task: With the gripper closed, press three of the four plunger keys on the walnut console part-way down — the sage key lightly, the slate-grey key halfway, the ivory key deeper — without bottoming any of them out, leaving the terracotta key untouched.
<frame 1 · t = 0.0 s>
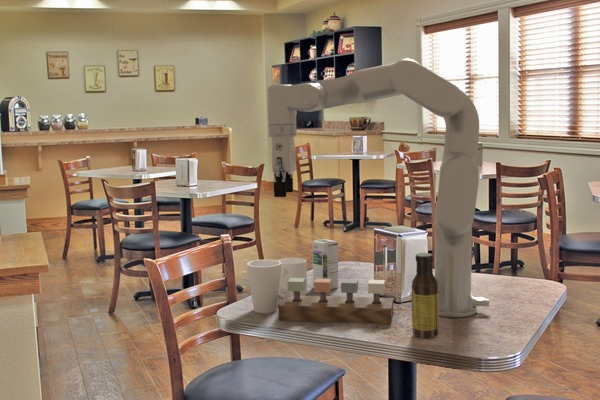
hand: (283, 194, 202), 31 cm above the table, tool pointing down, fingers open, 9 cm apart
ivory key: (376, 294, 193), point 6 cm above the table, slide at 0.0 cm
terracotta key: (323, 292, 196), point 6 cm above the table, slide at 0.0 cm
foam cup: (265, 310, 203), on the table
sauce bottle: (425, 336, 179), on the table
syrup box: (325, 288, 226), on the table
mug: (289, 297, 216), on the table
slate-grey key: (349, 293, 195), point 6 cm above the table, slide at 0.0 cm
sage key: (296, 292, 197), point 6 cm above the table, slide at 0.0 cm
console: (336, 316, 196), on the table
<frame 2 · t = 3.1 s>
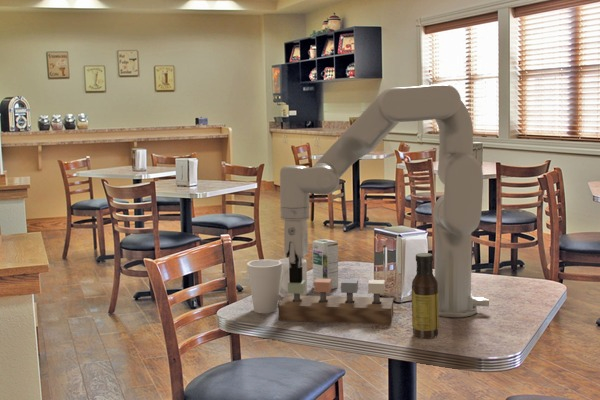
hand: (295, 281, 197), 9 cm above the table, tool pointing down, fingers closed
sage key: (296, 294, 197), point 6 cm above the table, slide at 0.6 cm, touching gripper
everything else where it was.
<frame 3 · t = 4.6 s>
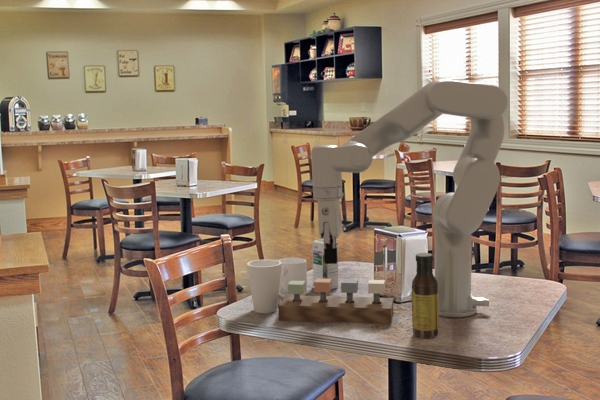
hand: (331, 262, 194), 14 cm above the table, tool pointing down, fingers closed
sage key: (296, 294, 197), point 6 cm above the table, slide at 0.7 cm
everything else where it was.
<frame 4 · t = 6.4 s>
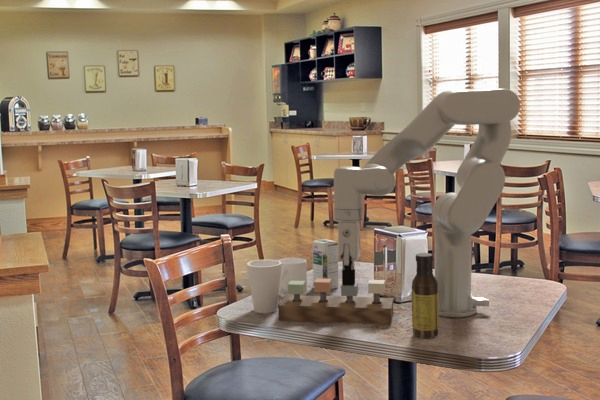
hand: (348, 284, 194), 9 cm above the table, tool pointing down, fingers closed
slate-grey key: (349, 296, 195), point 5 cm above the table, slide at 0.9 cm, touching gripper
everything else where it was.
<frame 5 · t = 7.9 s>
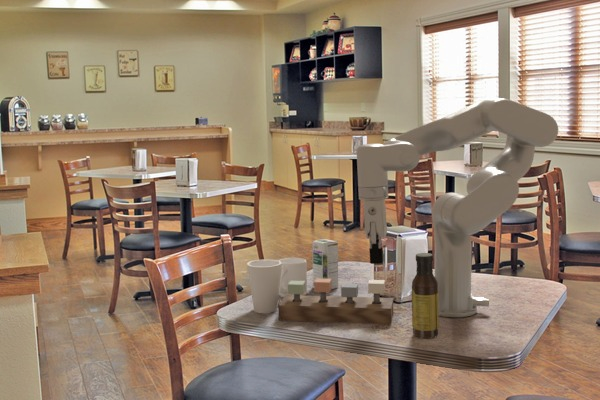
hand: (376, 262, 193), 14 cm above the table, tool pointing down, fingers closed
slate-grey key: (349, 297, 195), point 5 cm above the table, slide at 1.2 cm
everything else where it was.
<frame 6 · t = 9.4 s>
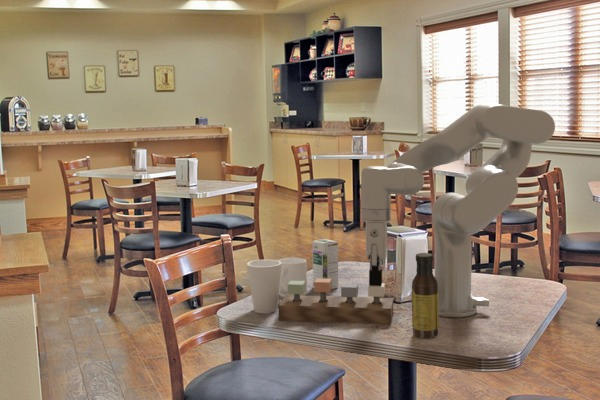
hand: (375, 284, 193), 9 cm above the table, tool pointing down, fingers closed
ivory key: (376, 297, 193), point 5 cm above the table, slide at 0.8 cm, touching gripper
everything else where it was.
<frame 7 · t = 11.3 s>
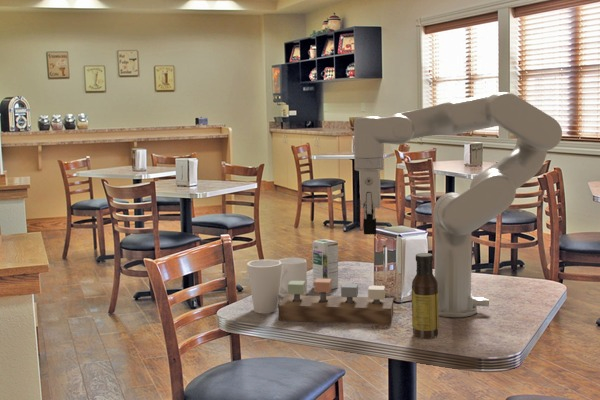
hand: (370, 233, 196), 21 cm above the table, tool pointing down, fingers closed
ivory key: (376, 300, 194), point 5 cm above the table, slide at 1.6 cm
everything else where it was.
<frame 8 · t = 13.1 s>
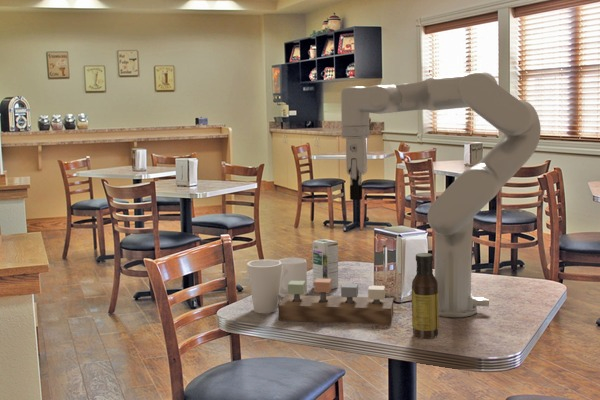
hand: (356, 199, 205), 29 cm above the table, tool pointing down, fingers closed
nothing on the table moved.
at the end: sage key slide at 0.7 cm; slate-grey key slide at 1.2 cm; ivory key slide at 1.6 cm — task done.
